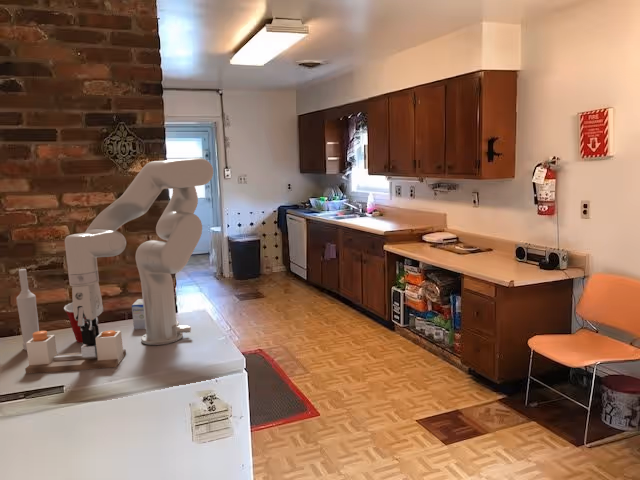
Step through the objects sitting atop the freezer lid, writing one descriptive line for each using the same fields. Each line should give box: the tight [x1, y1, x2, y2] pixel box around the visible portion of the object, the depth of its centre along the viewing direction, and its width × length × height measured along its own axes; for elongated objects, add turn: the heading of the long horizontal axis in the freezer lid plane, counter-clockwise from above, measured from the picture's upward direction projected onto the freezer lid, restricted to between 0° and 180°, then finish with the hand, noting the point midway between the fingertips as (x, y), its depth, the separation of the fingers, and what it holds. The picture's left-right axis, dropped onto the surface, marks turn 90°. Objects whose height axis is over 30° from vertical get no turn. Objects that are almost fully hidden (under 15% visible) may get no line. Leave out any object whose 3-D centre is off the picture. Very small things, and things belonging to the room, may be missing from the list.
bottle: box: [16, 268, 40, 351], centre depth 163 cm, size 5×5×25 cm
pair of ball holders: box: [26, 330, 125, 366], centre depth 149 cm, size 24×5×8 cm, turn 94°
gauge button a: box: [100, 329, 116, 337], centre depth 149 cm, size 4×4×2 cm
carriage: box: [80, 326, 97, 357], centre depth 149 cm, size 4×6×8 cm, turn 4°
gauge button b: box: [33, 330, 48, 342], centre depth 148 cm, size 4×4×2 cm
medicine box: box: [131, 298, 146, 330], centre depth 182 cm, size 8×4×9 cm, turn 5°
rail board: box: [24, 348, 127, 374], centre depth 150 cm, size 24×10×2 cm, turn 94°
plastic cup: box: [63, 302, 87, 344], centre depth 169 cm, size 11×11×12 cm
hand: (91, 340), depth 149 cm, fingers closed on carriage, 2 cm apart
